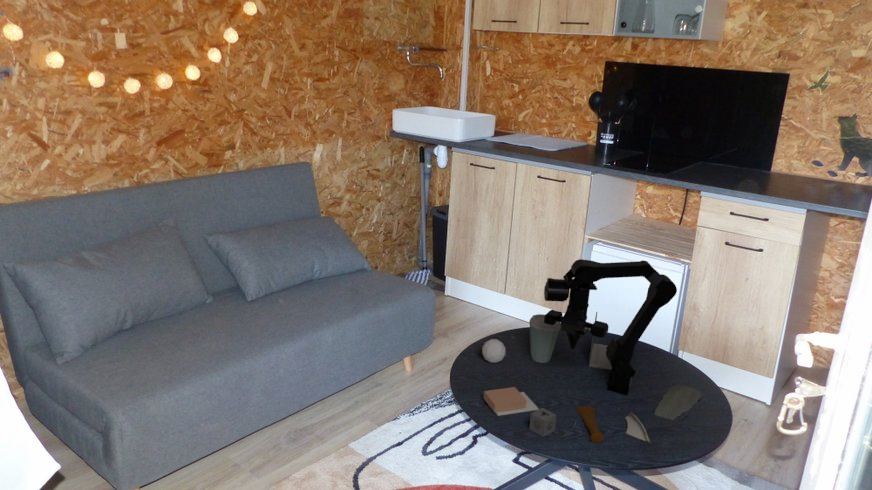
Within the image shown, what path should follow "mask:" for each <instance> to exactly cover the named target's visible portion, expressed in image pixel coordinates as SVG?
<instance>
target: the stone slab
mask: <svg viewBox="0 0 872 490" xmlns="http://www.w3.org/2000/svg"><path fill="white" fill-rule="evenodd" d="M701 393H702V392H701V391H700V390H699V389H696V388H694V387H691V386H687V385H684V384H682V383H681V384H680V383H679V384H678V383H677V384H675V385H673V386H671V387H669V389H668V390H667V392H666V393H665V394H664V395H662V399H661V400H659V402H658V404H657V406H656V409H655V410H654V414H653V415H654V416H655V417H658V416H659V417H658V418H661V417H663V418H662V419H665V418H666V419H665V420H669V419H670V420H669V421H672V420H674V419H675V418H677V416H680V415H681V413H683V412H686V411H689V410H690V408H692V406H693V405H694V404H695V403H696V402H697V400H698V399H699V398H700V397H701V395H703V394H701ZM697 403H698V402H697Z"/></svg>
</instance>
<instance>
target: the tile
mask: <svg viewBox="0 0 872 490" xmlns="http://www.w3.org/2000/svg"><path fill="white" fill-rule="evenodd" d="M483 400H484V401H485V402H486V403H487V405H488V406H489V407H490V409H491V410H492V411H493V413H495V412H501V411H508V410H515V409H521V408H526V401H527V400H526V399H525V398H524V397H523V396H522V395H521V393H520V391H519V390H518V389H517V388H516V387H515V386H513V387H506V388H498V389H489V390H484V391H483Z"/></svg>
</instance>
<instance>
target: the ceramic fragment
mask: <svg viewBox="0 0 872 490" xmlns="http://www.w3.org/2000/svg"><path fill="white" fill-rule="evenodd" d="M624 420H625V422H626V425H627V427H626V432H625V435H627V436H629V437H631V438H633V439H636V440H639V441H642V442H644V443H647V444H648V445H650V446H651V445H652V443H651V441H650V437H649V435H648V433H647V430H646V428H645V426H644V424H643V423H642V422H641V420H640V419H639V418H638V417H637V415H635V414H634V413H633V412H629V414H628V415H627V416H625V417H624Z"/></svg>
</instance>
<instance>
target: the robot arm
mask: <svg viewBox="0 0 872 490" xmlns="http://www.w3.org/2000/svg"><path fill="white" fill-rule="evenodd" d="M634 277H635V278H637V277H638V278H641V277H642V278H644V279H646V280H647V281H648V282H649V286H648V288H647V293H646V297H645V300H644V302H643V303H642V304H641V306H640V308H639V310H638V311H637V312H636V314H635V315H634V317H633V319H632V320H631V322H630V323H629V325H628V326H627V328H626V330H625V331H624V332H623V334H622V335H621V337H619V338H617V339H616V338H614V337H612V339H611V340H610V343H609V344H608V345H607V347H606V349H607V351H606V357H607V359H608V361H609V363H610V365H611V366H612V369H611V370H609V372H608V375H607V382H606V385H607V387H606V390H608V391H612V392H615V393H619V394H622V395H624V396H627V395H629V393H630V392H631V390H632V388H633V384H632V383H633V378H634V376H635V375H636V369H635V368H634V366H633V364H632V362H631V361H632V359H633V356H634V352H635V351H634V350H635V346H636V345H637V343H638V342H639V340H640V339H641V338H642V336H643V334H644V332H646V329H647V328H648V326H649V325H650V323H651V322H652V321H653V319H654V317H655V316H656V315H657V313H658V311H659V310H660V309H661V308H662V307H664V306H665V305H667V304H668V303H670V302H671V300H672V299H673V298H674V297H675V296H676V294H677V291H678V289H677V286H676V284H675V283H674V281H672V280H671V278H669V276H667V275H666V274H664V273H663V274H662V273H661V274H660V273H659V272H658V271H657V270H656V269H655V268H654V267H653V266H652V265H651V263H649V262H648V261H647V260H644V259H643V260H640V261H639V260H638V261H620V262H619V261H618V262H597V261H595V260H590V259H589V260H588V259H583V258H581V259H577V260H575V261H574V262H573V263H572V265H571V268H570V269H569V270H568V271H567V272H566V273H565V275H563V278H561V279H560V278H552V277H547V278H546V282H545V285H544V287H543V288H544V289H543V291H544V292H543V294H544V295H543V296H544V301H545V302H565V301H567V300H568V305H567V307H566V311H565V313H564V315H563V312H562V311H559V310H554V309H551V310H549V311H548V312H547V313H546V314H544V315H545V317H544V323H546V324H550V325H554V324H555V323H556V321H557V322H560V323H561V328H560V330H561V331H562V332H564V333H566V335H567V337H568V341H569V345H570V349H571V350H575V348H576V347H577V345H578V343H579V342H580V339H581V337H582V336H585V335H586V334H587V333H588V331H590V332H589V333H590V335H591V336H592V337H593V336H594V337H596V338H601V339H603V338H604V337H605V336H606V335H607V334H608V332H609V327H610V326H609V324H608V323H607V322H603V321H599V320H596V321H595V320H594V322H593V323H591V322H588V321H587V320H588V308H589V305H590V303H589V299H590V291H597V290H598V287H597V286H596V284H595V282H598V281H600V280H603V279H614V278H615V279H616V278H618V279H619V278H634Z"/></svg>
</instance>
